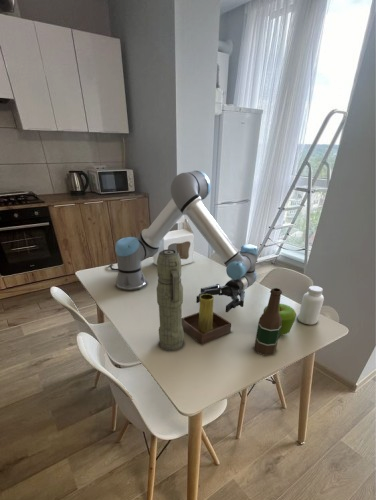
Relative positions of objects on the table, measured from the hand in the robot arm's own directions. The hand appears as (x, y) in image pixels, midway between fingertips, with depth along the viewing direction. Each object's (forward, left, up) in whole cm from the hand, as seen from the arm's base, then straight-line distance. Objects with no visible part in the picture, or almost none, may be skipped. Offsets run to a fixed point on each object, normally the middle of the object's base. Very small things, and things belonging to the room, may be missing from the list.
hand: (211, 304), depth 114 cm
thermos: (+2, -20, -10) cm, 23 cm away
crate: (+1, -4, -10) cm, 11 cm away
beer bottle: (+24, +6, -10) cm, 27 cm away
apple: (+18, +19, -10) cm, 29 cm away
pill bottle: (+20, +37, -10) cm, 44 cm away
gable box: (-71, +28, -10) cm, 77 cm away
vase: (+2, -4, -9) cm, 10 cm away
